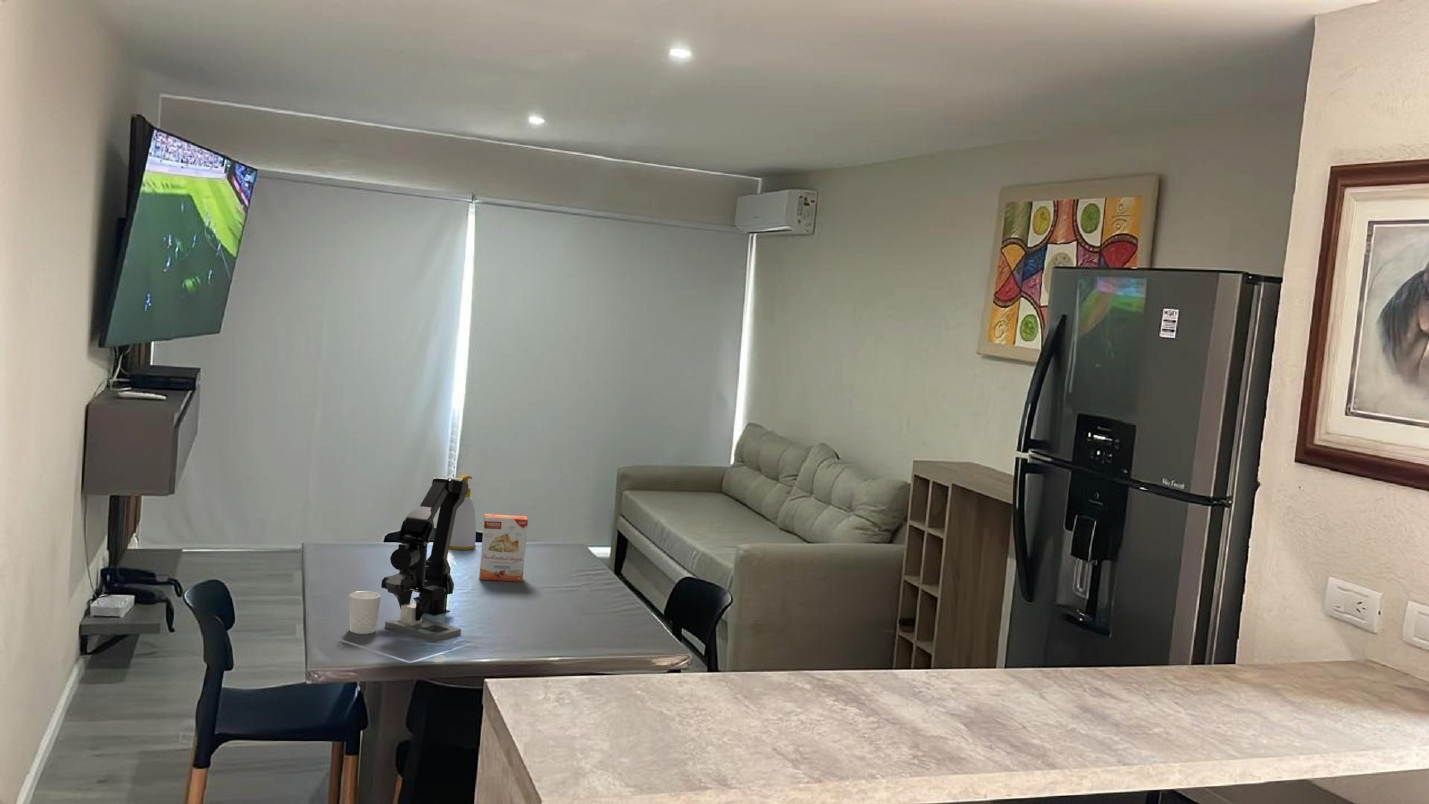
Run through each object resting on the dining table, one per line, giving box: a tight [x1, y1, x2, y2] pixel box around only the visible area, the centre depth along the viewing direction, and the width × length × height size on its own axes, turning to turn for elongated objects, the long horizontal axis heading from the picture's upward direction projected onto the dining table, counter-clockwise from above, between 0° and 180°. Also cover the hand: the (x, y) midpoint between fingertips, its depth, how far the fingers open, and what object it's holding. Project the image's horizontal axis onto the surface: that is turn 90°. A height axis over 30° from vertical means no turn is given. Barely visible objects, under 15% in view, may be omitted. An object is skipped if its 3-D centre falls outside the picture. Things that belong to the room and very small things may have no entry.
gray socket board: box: [384, 617, 462, 643], centre depth 306 cm, size 10×18×2 cm, turn 60°
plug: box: [399, 602, 423, 626], centre depth 308 cm, size 5×4×6 cm
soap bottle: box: [449, 474, 477, 551], centre depth 408 cm, size 11×12×26 cm
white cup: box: [348, 590, 382, 635], centre depth 302 cm, size 8×8×10 cm
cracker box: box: [478, 513, 529, 583], centre depth 369 cm, size 14×6×21 cm, turn 102°
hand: (411, 618), depth 308 cm, fingers open, 5 cm apart
